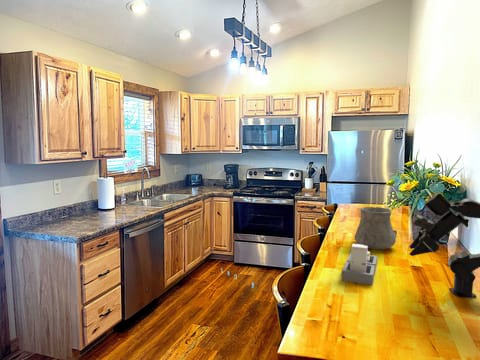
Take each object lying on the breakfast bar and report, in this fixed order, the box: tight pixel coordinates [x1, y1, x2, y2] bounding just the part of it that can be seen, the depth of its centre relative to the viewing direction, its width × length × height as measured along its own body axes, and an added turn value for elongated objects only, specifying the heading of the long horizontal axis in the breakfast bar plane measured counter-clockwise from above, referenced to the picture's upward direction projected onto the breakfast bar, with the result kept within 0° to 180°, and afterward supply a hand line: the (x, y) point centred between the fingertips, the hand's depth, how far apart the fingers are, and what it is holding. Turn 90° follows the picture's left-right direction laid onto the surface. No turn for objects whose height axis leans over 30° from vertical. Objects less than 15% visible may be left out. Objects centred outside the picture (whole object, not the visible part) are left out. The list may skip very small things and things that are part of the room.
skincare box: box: [350, 243, 369, 273], centre depth 144 cm, size 6×4×12 cm
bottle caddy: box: [341, 250, 378, 286], centre depth 150 cm, size 11×24×7 cm, turn 155°
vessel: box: [354, 206, 398, 250], centre depth 185 cm, size 22×22×20 cm
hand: (410, 251), depth 135 cm, fingers open, 9 cm apart
